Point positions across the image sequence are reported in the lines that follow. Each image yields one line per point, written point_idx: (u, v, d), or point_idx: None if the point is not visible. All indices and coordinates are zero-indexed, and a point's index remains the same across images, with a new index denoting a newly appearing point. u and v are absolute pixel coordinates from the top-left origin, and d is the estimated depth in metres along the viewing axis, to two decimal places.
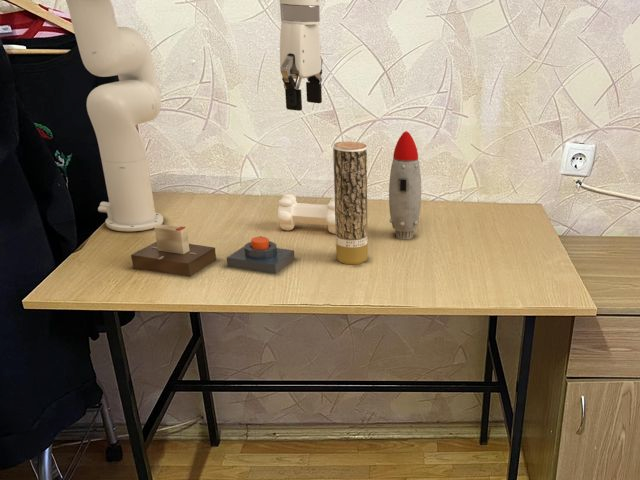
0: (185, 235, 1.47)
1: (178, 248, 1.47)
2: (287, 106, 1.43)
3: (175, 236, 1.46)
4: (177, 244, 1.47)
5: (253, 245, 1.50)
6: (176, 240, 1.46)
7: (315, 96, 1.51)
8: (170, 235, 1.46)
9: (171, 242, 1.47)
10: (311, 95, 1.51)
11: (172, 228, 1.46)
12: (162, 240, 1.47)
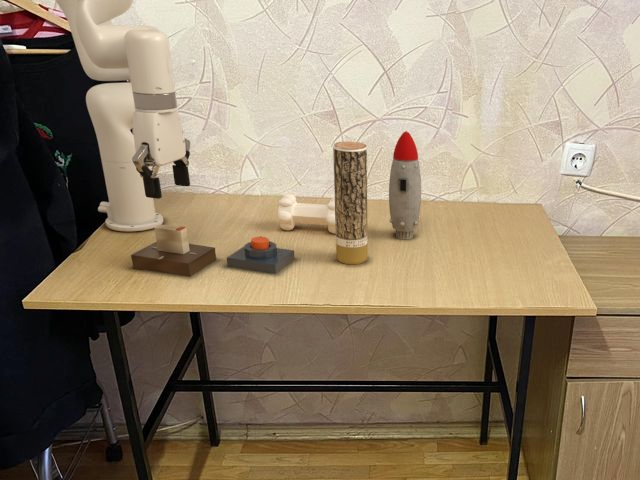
0: (185, 235, 1.47)
1: (178, 248, 1.47)
2: (146, 194, 1.38)
3: (175, 236, 1.46)
4: (177, 244, 1.47)
5: (253, 245, 1.50)
6: (176, 240, 1.46)
7: (182, 179, 1.46)
8: (170, 235, 1.46)
9: (171, 242, 1.47)
10: (178, 178, 1.46)
11: (172, 228, 1.46)
12: (162, 240, 1.47)
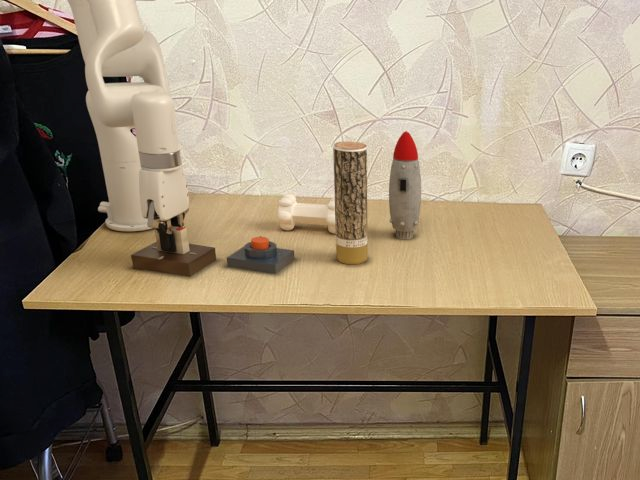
0: (185, 235, 1.47)
1: (178, 248, 1.47)
2: (162, 248, 1.47)
3: (175, 236, 1.46)
4: (177, 244, 1.47)
5: (253, 245, 1.50)
6: (176, 240, 1.46)
7: None
8: None
9: None
10: None
11: (172, 228, 1.46)
12: None
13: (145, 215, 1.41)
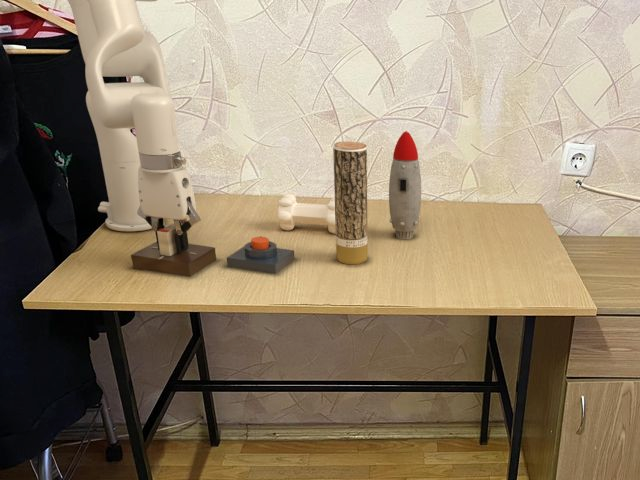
0: (164, 238, 1.44)
1: None
2: None
3: None
4: None
5: (253, 245, 1.50)
6: None
7: None
8: None
9: None
10: None
11: (167, 228, 1.46)
12: None
13: None
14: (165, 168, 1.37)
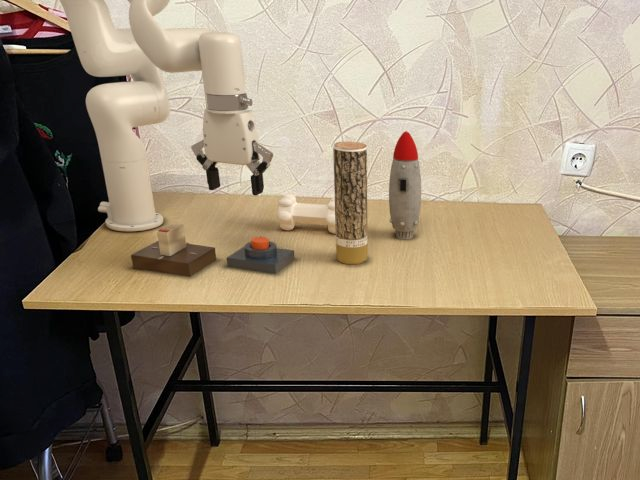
0: (164, 238, 1.44)
1: None
2: None
3: None
4: None
5: (253, 245, 1.50)
6: None
7: None
8: None
9: None
10: None
11: (167, 228, 1.46)
12: None
13: None
14: (231, 109, 1.34)
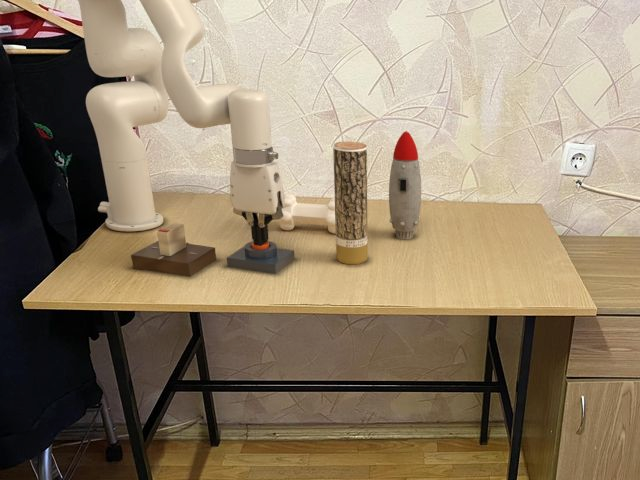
0: (164, 238, 1.44)
1: None
2: None
3: None
4: None
5: None
6: None
7: None
8: None
9: None
10: None
11: (167, 228, 1.46)
12: None
13: None
14: (259, 163, 1.40)
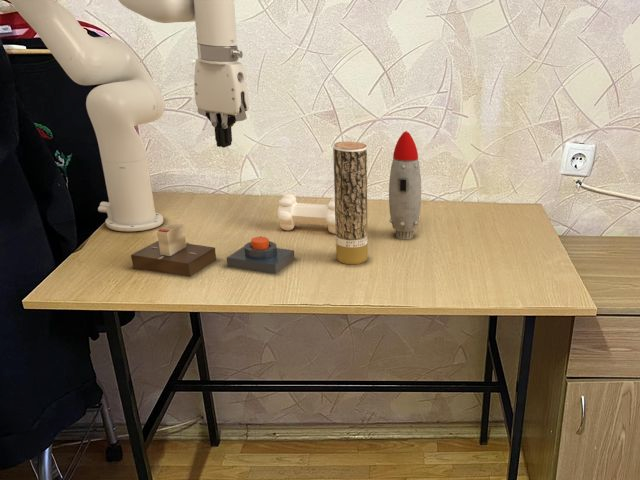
0: (164, 238, 1.44)
1: None
2: None
3: None
4: None
5: (253, 245, 1.50)
6: None
7: None
8: None
9: None
10: None
11: (167, 228, 1.46)
12: None
13: None
14: (222, 60, 1.42)
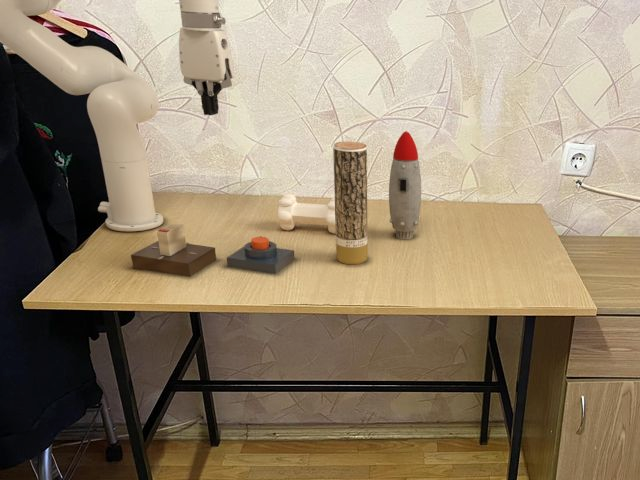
0: (164, 238, 1.44)
1: None
2: None
3: None
4: None
5: (253, 245, 1.50)
6: None
7: None
8: None
9: None
10: None
11: (167, 228, 1.46)
12: None
13: None
14: (206, 26, 1.45)
